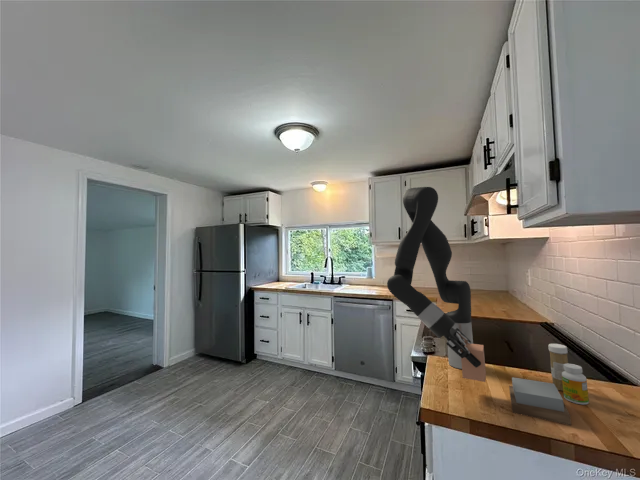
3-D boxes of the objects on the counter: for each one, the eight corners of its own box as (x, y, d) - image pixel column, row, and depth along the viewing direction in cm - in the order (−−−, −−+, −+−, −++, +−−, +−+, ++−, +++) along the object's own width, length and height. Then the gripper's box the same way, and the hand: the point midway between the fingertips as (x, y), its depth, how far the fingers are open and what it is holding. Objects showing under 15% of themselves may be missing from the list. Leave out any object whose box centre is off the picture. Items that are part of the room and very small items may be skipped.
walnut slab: (510, 395, 84) (509, 385, 84) (560, 405, 78) (559, 394, 78) (512, 415, 74) (511, 403, 74) (571, 428, 67) (570, 415, 68)
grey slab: (512, 387, 83) (511, 377, 83) (555, 394, 78) (553, 383, 78) (516, 402, 74) (515, 391, 75) (564, 411, 69) (563, 399, 69)
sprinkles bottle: (554, 384, 89) (550, 342, 90) (572, 388, 86) (568, 345, 87) (550, 388, 86) (546, 345, 87) (570, 393, 83) (565, 348, 84)
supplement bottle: (559, 398, 80) (556, 364, 81) (570, 394, 82) (567, 361, 83) (582, 406, 75) (578, 370, 76) (593, 402, 77) (589, 367, 78)
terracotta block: (464, 370, 89) (462, 342, 89) (485, 374, 85) (483, 345, 86) (462, 377, 84) (460, 348, 84) (485, 382, 80) (482, 351, 81)
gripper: (440, 317, 84) (488, 362, 77) (446, 308, 96) (489, 347, 89) (423, 332, 86) (468, 378, 79) (432, 322, 98) (472, 360, 91)
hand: (479, 361), depth 84 cm, fingers closed on terracotta block, 6 cm apart
